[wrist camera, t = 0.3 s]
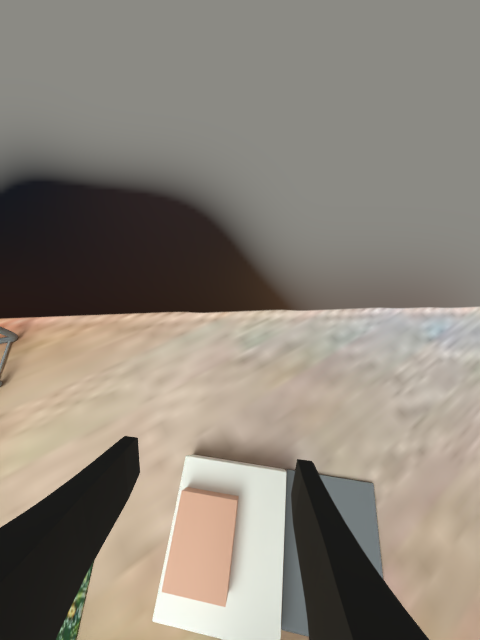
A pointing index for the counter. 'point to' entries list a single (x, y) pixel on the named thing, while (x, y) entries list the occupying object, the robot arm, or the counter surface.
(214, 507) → the tile
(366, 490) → the mat
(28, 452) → the counter surface
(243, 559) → the white platform
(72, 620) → the decorative card
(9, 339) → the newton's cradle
